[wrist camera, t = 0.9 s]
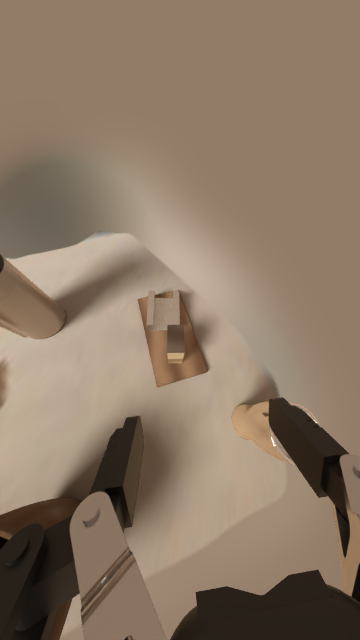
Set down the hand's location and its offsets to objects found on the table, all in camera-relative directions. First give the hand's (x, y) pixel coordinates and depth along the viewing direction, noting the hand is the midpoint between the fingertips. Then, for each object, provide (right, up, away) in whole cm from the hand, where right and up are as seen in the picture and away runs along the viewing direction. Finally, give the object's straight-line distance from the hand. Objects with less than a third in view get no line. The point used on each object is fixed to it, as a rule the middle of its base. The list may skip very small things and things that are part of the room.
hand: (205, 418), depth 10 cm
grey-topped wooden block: (-3, -1, +27) cm, 28 cm away
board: (-4, +3, +31) cm, 31 cm away
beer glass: (+12, -14, +23) cm, 30 cm away
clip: (-5, +8, +32) cm, 33 cm away
